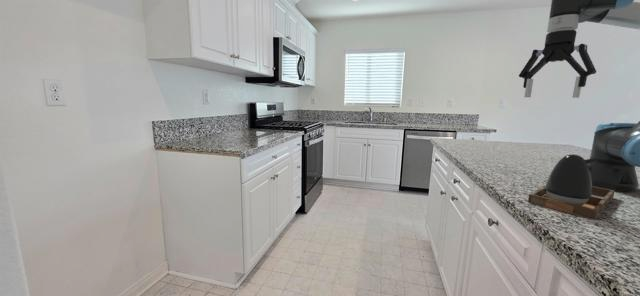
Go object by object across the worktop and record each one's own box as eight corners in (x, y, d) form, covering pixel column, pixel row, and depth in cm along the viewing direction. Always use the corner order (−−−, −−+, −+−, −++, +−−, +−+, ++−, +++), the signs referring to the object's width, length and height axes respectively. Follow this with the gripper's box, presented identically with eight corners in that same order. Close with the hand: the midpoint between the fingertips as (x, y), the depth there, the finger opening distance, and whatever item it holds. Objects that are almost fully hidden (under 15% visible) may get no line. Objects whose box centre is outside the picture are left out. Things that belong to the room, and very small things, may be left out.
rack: (555, 185, 99) (556, 179, 98) (613, 197, 87) (614, 190, 87) (527, 202, 82) (528, 194, 82) (594, 220, 70) (596, 211, 70)
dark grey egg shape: (599, 212, 75) (611, 159, 72) (556, 208, 77) (566, 157, 74) (573, 199, 85) (583, 152, 82) (535, 196, 87) (544, 150, 84)
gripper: (513, 37, 97) (505, 97, 101) (610, 20, 76) (594, 97, 80) (524, 39, 101) (515, 97, 105) (620, 24, 79) (604, 98, 83)
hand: (550, 97), depth 92 cm, fingers open, 13 cm apart
